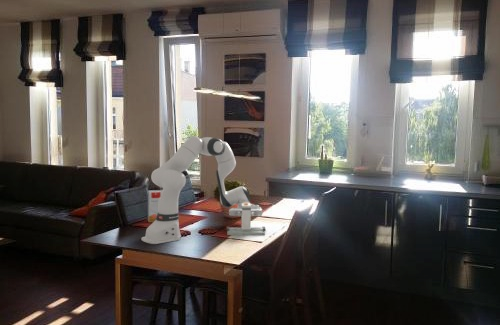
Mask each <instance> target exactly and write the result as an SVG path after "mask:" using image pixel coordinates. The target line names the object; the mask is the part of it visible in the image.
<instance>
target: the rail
mask: <svg viewBox="0 0 500 325" xmlns="http://www.w3.org/2000/svg"><path fill="white" fill-rule="evenodd" d="M227 231H265V232H266V226H262V227H250V229H242V227H230V226H226V232H227Z"/></svg>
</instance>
